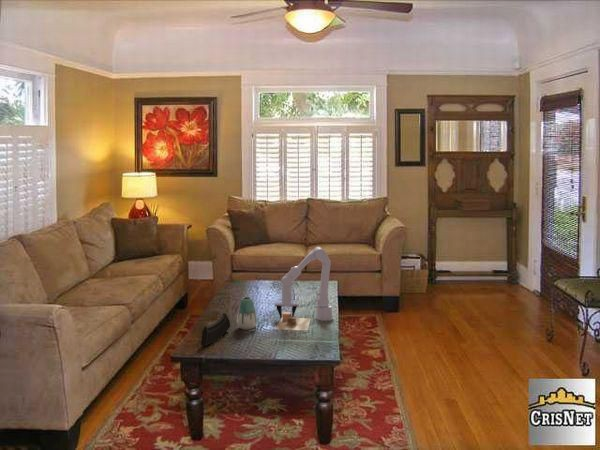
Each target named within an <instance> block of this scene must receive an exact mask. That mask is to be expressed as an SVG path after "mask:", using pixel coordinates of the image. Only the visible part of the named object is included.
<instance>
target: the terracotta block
mask: <svg viewBox="0 0 600 450" xmlns="http://www.w3.org/2000/svg"><path fill="white" fill-rule="evenodd" d="M288 316H292V311H282V318H283V321H287V318H288Z"/></svg>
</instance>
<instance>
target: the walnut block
mask: <svg viewBox="0 0 600 450" xmlns="http://www.w3.org/2000/svg"><path fill="white" fill-rule="evenodd" d="M296 318H297V316H295V315H294V316H292V315H291V316H288V318H287V325H296Z"/></svg>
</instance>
